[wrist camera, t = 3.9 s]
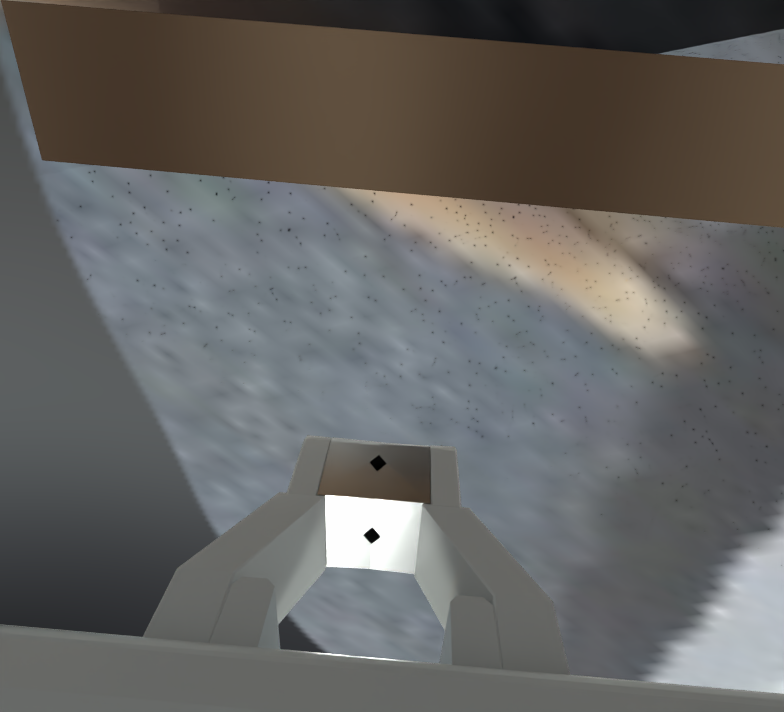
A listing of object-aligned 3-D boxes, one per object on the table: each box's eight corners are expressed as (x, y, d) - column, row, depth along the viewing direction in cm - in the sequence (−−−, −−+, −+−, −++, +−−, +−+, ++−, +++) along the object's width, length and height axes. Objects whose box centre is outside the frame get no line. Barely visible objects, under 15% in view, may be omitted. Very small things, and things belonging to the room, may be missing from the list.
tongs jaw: (1195, 109, 10) (2161, 164, 4) (1112, 215, 11) (1808, 367, 5) (148, 23, 10) (-172, -27, 5) (164, 131, 11) (-88, 190, 6)
